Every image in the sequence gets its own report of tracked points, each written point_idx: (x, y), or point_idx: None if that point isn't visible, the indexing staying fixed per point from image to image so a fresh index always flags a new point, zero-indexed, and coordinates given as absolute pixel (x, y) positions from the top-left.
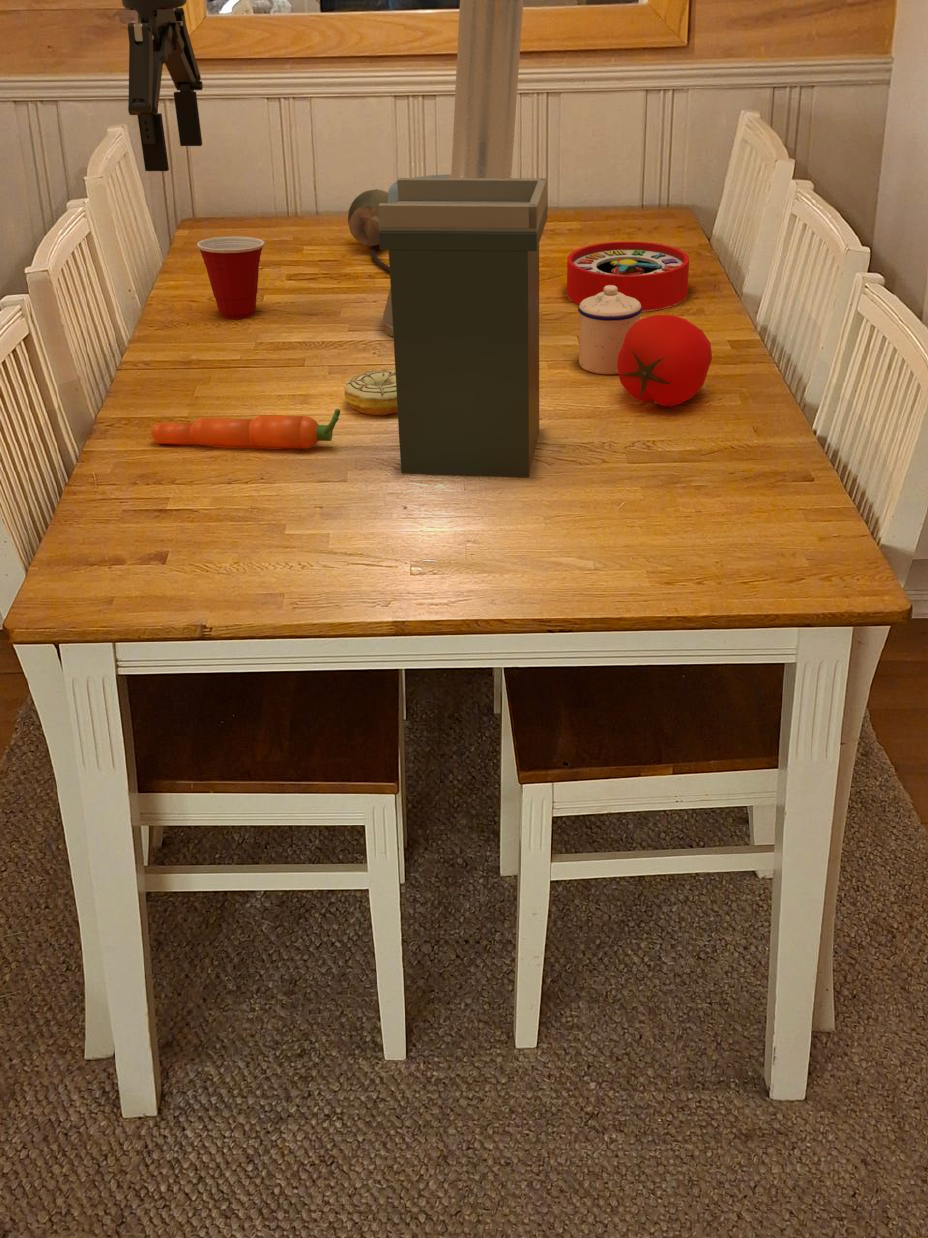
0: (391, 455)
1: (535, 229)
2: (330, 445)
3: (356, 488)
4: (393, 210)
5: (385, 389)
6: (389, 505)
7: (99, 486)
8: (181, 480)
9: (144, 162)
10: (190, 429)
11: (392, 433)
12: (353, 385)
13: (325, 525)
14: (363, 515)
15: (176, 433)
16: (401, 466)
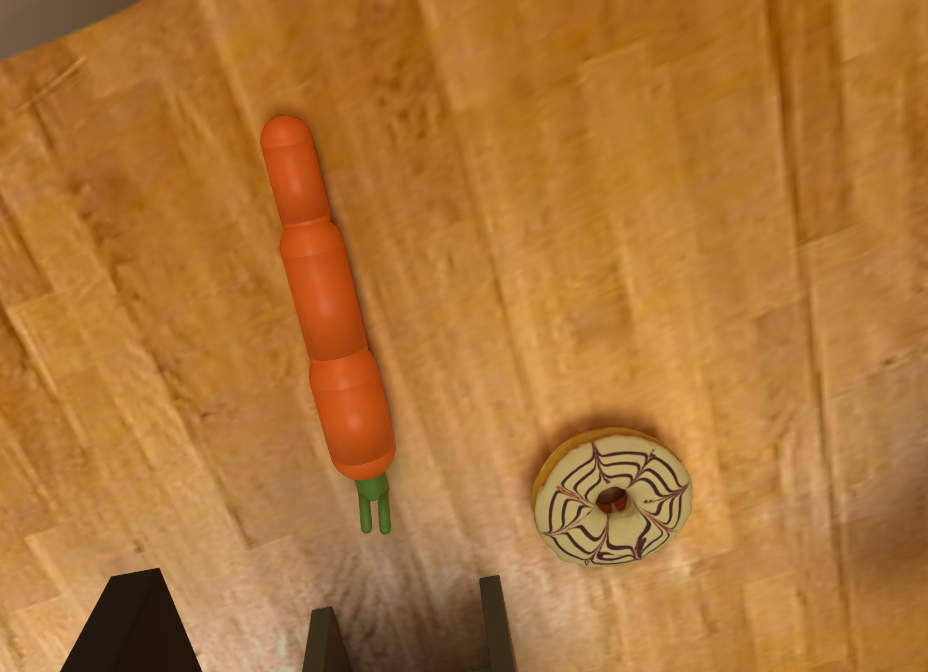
0: (377, 572)
1: None
2: None
3: (231, 570)
4: None
5: (561, 537)
6: (192, 633)
7: (26, 114)
8: (132, 273)
9: (88, 624)
10: (288, 224)
11: (470, 541)
12: (577, 471)
13: (82, 579)
14: None
15: (273, 192)
16: (311, 619)
